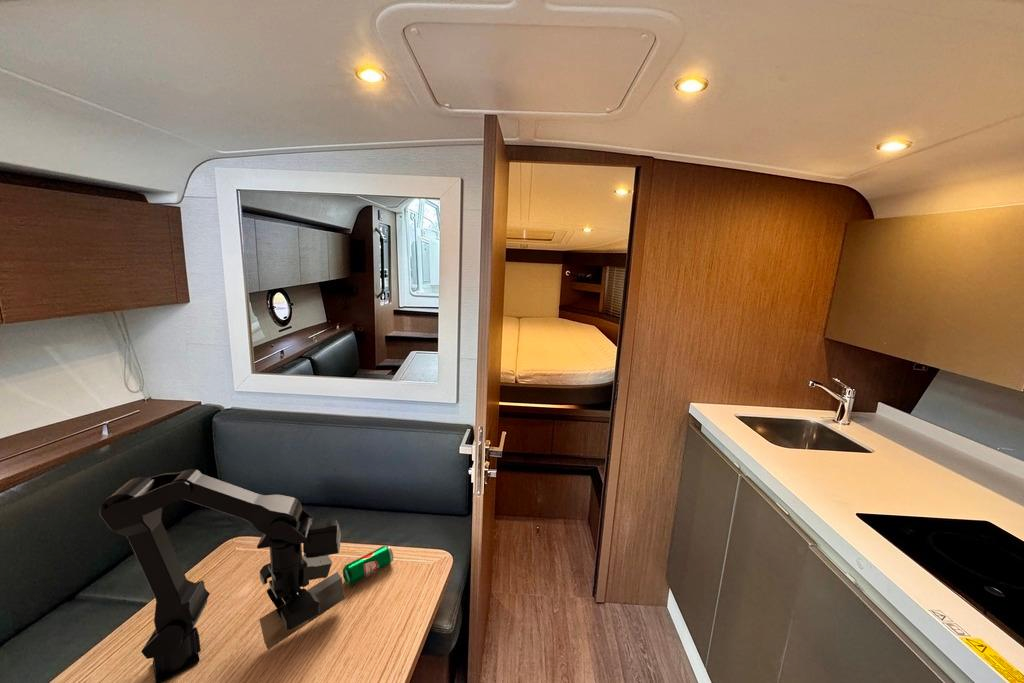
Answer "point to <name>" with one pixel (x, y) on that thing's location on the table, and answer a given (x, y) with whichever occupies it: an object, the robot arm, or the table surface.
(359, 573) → the soda can
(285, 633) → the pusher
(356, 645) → the table surface
